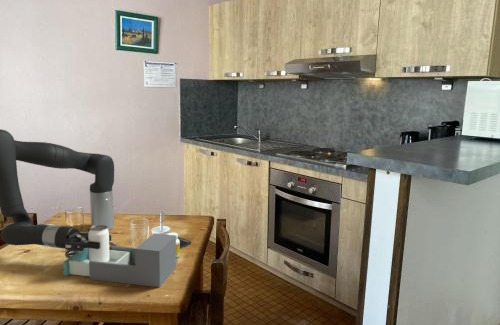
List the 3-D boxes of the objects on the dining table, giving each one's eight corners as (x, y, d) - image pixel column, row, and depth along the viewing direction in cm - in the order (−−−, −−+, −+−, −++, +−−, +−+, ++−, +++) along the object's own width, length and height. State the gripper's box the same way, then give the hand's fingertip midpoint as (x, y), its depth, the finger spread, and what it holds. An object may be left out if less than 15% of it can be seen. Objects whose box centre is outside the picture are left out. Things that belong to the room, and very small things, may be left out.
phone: (167, 233, 167) (192, 242, 159) (167, 236, 168) (192, 244, 159) (153, 238, 161) (178, 247, 152) (153, 241, 161) (178, 250, 153)
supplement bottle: (161, 259, 143) (161, 234, 142) (174, 255, 147) (173, 230, 146) (170, 263, 140) (170, 238, 138) (182, 259, 144) (182, 234, 142)
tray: (88, 257, 142) (88, 246, 141) (132, 262, 139) (131, 250, 138) (63, 275, 128) (63, 262, 127) (111, 280, 125) (110, 267, 124)
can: (85, 260, 133) (84, 227, 131) (103, 255, 137) (103, 223, 135) (94, 267, 128) (93, 232, 126) (113, 261, 133) (112, 228, 131)
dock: (112, 261, 140) (111, 229, 138) (175, 268, 136) (175, 235, 134) (89, 279, 126) (88, 243, 124) (159, 287, 122) (159, 251, 120)
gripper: (45, 233, 126) (93, 238, 124) (73, 220, 140) (116, 224, 138) (46, 255, 128) (93, 261, 125) (73, 239, 142) (116, 244, 139)
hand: (105, 241), depth 131 cm, fingers closed on can, 6 cm apart
